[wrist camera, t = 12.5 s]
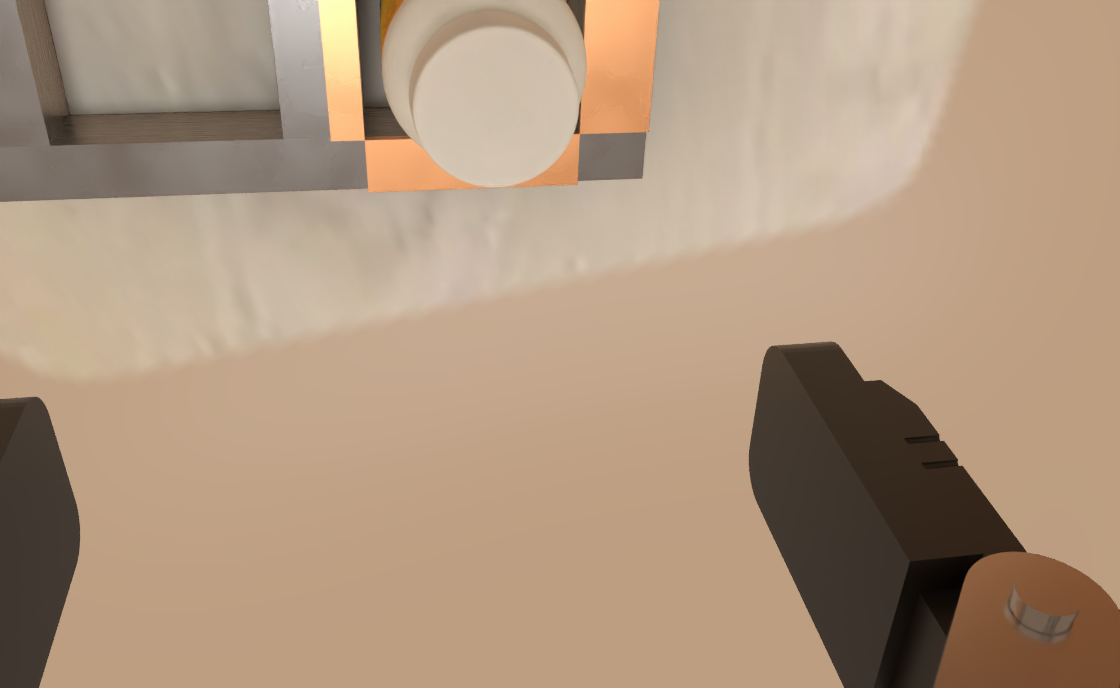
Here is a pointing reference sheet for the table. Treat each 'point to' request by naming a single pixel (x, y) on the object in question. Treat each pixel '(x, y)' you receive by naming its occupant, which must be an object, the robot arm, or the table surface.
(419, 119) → the supplement bottle
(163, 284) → the table surface
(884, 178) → the table surface
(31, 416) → the robot arm
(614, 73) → the tray
